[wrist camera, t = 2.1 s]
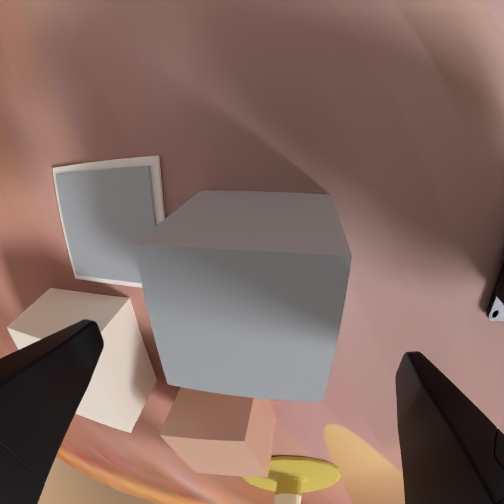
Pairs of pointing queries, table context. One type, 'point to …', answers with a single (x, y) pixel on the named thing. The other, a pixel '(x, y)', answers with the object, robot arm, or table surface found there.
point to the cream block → (111, 359)
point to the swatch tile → (108, 215)
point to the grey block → (247, 292)
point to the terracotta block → (221, 432)
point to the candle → (296, 477)
